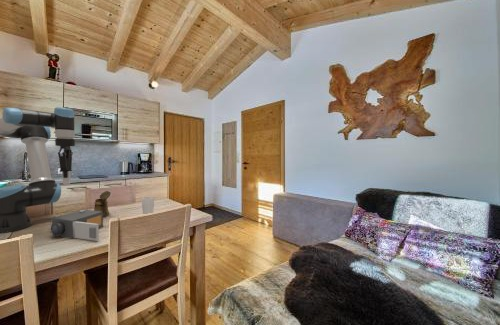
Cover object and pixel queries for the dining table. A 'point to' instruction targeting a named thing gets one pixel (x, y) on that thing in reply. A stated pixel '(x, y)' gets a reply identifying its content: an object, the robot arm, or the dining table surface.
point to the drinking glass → (148, 204)
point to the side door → (86, 230)
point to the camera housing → (65, 222)
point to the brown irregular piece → (102, 203)
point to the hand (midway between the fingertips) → (66, 183)
